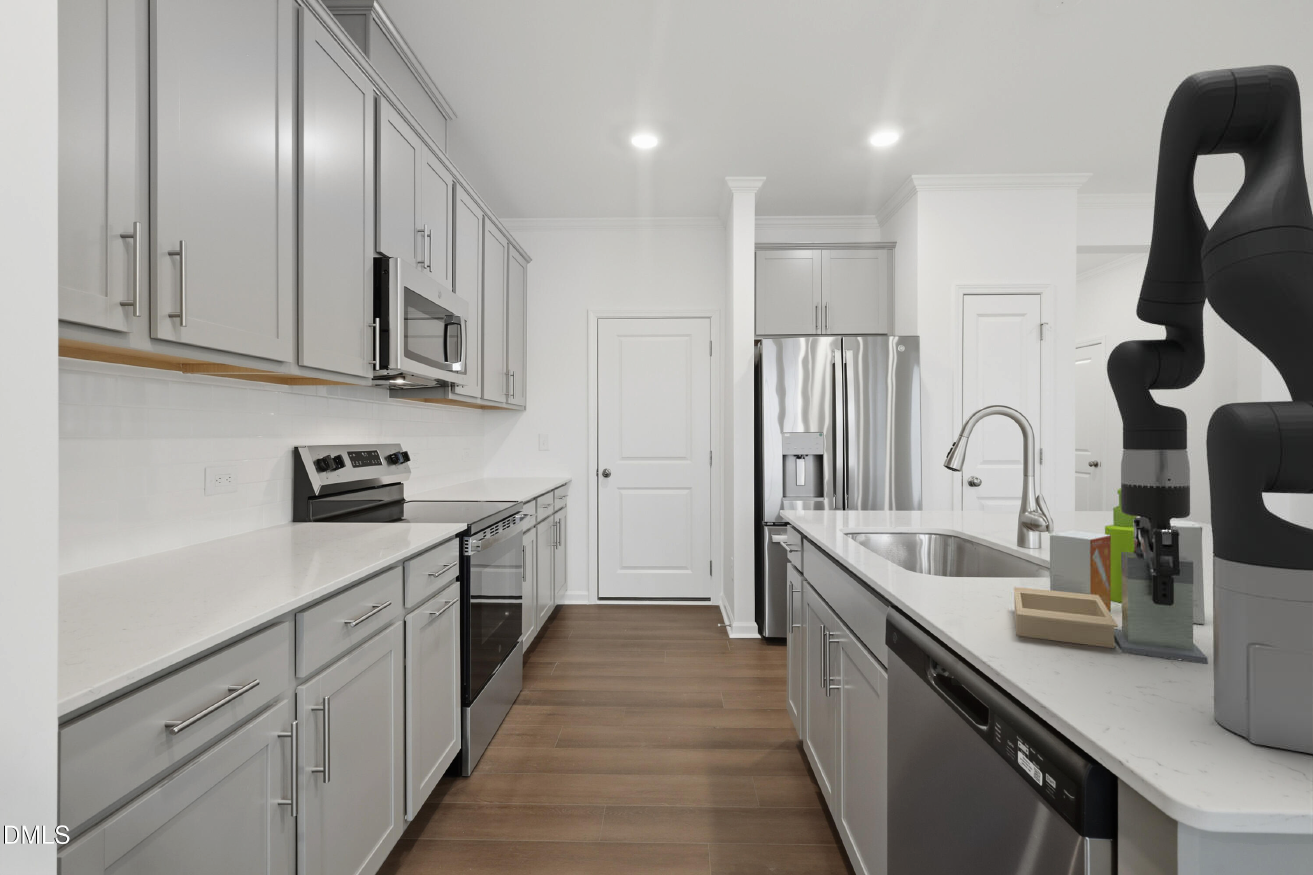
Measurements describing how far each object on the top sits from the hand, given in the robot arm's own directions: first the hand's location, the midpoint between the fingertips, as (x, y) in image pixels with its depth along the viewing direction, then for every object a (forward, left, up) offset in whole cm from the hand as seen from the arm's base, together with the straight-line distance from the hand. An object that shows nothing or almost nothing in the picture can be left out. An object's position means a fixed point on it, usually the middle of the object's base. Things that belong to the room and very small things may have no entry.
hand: (1155, 597), depth 86 cm
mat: (0, 0, -7) cm, 7 cm away
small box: (+17, +7, -7) cm, 20 cm away
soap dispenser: (+29, -1, -7) cm, 30 cm away
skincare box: (+19, -5, -7) cm, 21 cm away
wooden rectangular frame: (+3, +11, -7) cm, 13 cm away
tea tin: (0, 0, -6) cm, 6 cm away
